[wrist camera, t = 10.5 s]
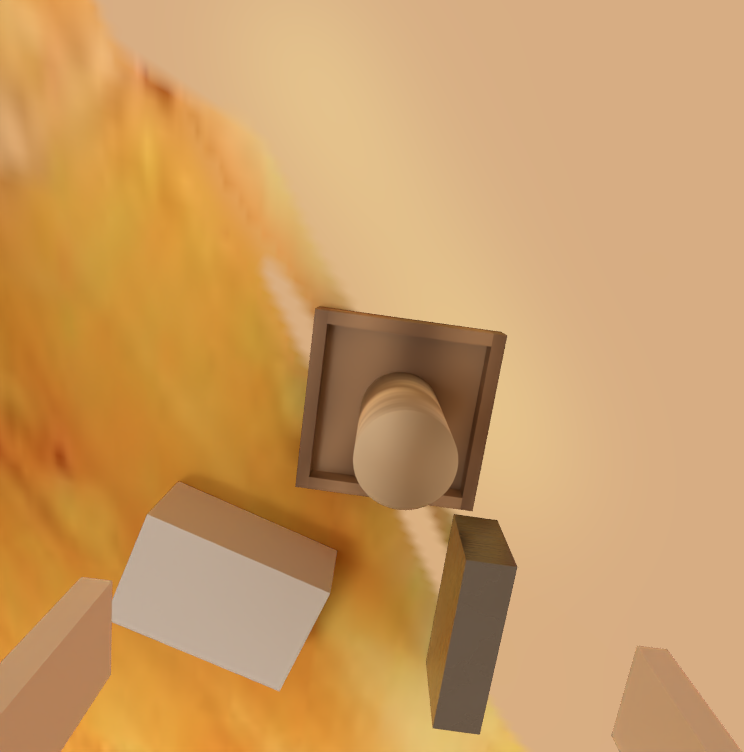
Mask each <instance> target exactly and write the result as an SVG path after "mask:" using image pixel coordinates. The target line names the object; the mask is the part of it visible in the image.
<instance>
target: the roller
mask: <svg viewBox="0 0 744 752" xmlns="http://www.w3.org/2000/svg"><path fill="white" fill-rule="evenodd" d="M353 468H354V472H355V475H356V478H357V481H358V482H359V484H360V486H361V487H362V489H363V490H364V491H365V492H366V494H367V495H368V496H370V497H371V498H372V499H373V500H375V501H376V502H378V503H380V504H382V505H384V506H386V507H389V508H393V509H399V510H412V509H418V508H421V507H425V506H427V505H429V504H431V503H433V502H435V501H436V500H438V499H439V498H440V497H441V496H442V495H443V494H444V493H445V492H446V491H447V490H448V489H449V487H450V486H451V484H452V483H453V481H454V478H455V476H456V473H457V469H458V452H457V447H456V444H455V441H454V439H453V436H452V434H451V432H450V429H449V427H448V424H447V422H446V419H445V417H444V415H443V412H442V410H441V407H440V405H439V402H438V400H437V398H436V395H435V393H434V391H433V390H432V388H431V387H430V386H429V384H428V383H427V382H425V381H424V380H423V379H422V378H420V377H418V376H416V375H414V374H411V373H406V372H393V373H389V374H386V375H383V376H381V377H379V378H378V379H376V380H375V381H374V382H373V383H372V384H371V385H370V386H369V387H368V389H367V390H366V392H365V394H364V396H363V399H362V403H361V409H360V415H359V422H358V428H357V434H356V441H355V447H354V453H353Z"/></svg>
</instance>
